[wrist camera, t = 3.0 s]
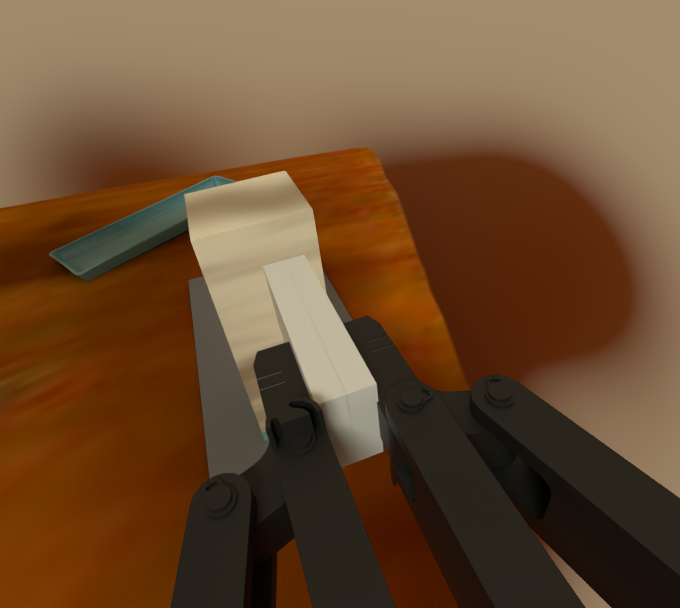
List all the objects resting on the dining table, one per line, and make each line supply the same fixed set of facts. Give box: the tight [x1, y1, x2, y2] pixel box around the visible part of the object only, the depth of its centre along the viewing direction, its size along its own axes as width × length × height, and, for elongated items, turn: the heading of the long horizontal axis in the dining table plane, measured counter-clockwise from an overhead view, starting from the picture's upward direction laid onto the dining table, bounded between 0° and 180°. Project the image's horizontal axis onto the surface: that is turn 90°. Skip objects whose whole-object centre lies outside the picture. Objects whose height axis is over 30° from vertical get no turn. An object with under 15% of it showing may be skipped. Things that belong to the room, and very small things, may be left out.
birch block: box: [184, 171, 326, 441], centre depth 28 cm, size 6×6×16 cm
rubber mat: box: [188, 271, 352, 478], centre depth 39 cm, size 26×14×1 cm, turn 19°
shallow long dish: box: [49, 176, 237, 281], centre depth 59 cm, size 26×9×2 cm, turn 139°
